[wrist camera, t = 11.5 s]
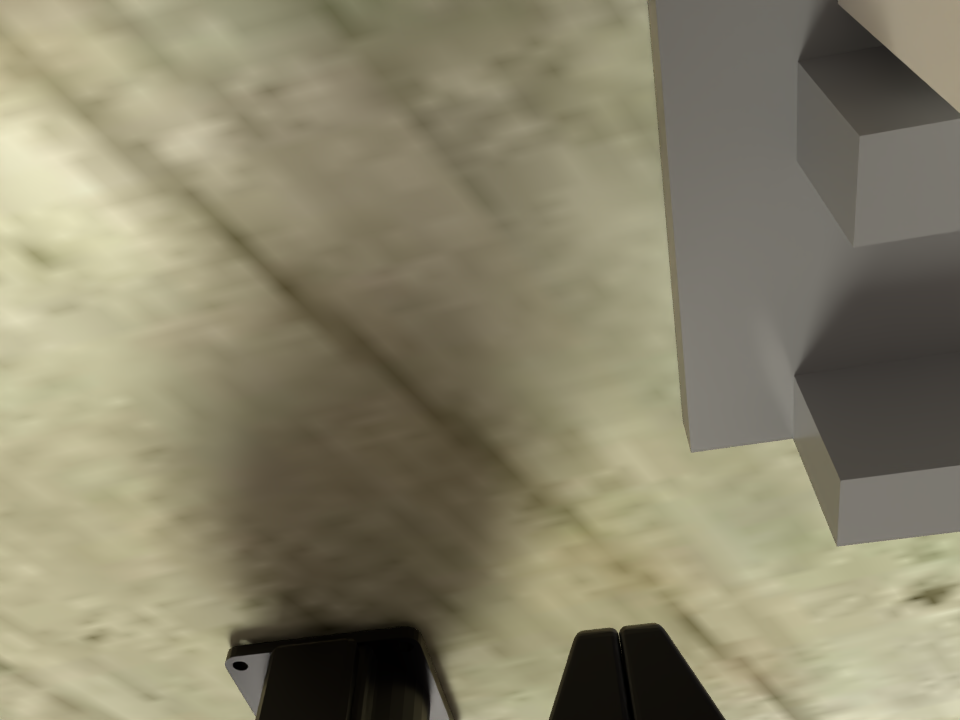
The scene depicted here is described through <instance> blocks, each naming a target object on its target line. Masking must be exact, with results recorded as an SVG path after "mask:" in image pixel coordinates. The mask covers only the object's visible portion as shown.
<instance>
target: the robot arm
mask: <svg viewBox="0 0 960 720" xmlns="http://www.w3.org/2000/svg"><path fill="white" fill-rule="evenodd" d="M619 638H620V640H619ZM620 645H621V647H620ZM225 666H226V669H227V670H228V672H229V674H230V675H231V677H232V679H233V680H234V682H235V683H236V685H237V687H238V688H239V690H240V692H241V693H242V695H243V697H244V698H245V700H246V701H247V703H248V705H249V706H250V708H251V710H252V711H253V713H254V715H255V716H256V719H255V720H454V718H453V716H452V713H451V711H450V708H449V705H448V703H447V700H446V697H445V695H444V692H443V690H442V687H441V684H440V682H439V679H438V676H437V674H436V671H435V669H434V666H433V663H432V661H431V658H430V655H429V653H428V650H427V648H426V645H425V642H424V640H423V637H422V635H421V633H420V632H419V631H418V630H416V629H415V628H411V627H396V628H387V629H379V630H370V631H362V632H353V633H345V634H336V635H328V636H319V637H311V638H302V639H294V640H285V641H277V642H268V643H260V644H251V645H243V646H236V647H233V648H231V649H230V650H229V651H228V654H227V658H226V661H225ZM549 720H726V719H725V718H724V717H723V715H722V714H721V712H720V711H719V709H718V708H717V706H716V705H715V703H714V702H713V700H712V699H711V697H710V696H709V694H708V693H707V691H706V690H705V688H704V687H703V686H702V684H701V683H700V681H699V680H698V678H697V677H696V675H695V674H694V672H693V671H692V669H691V668H690V666H689V665H688V663H687V662H686V660H685V659H684V657H683V656H682V655H681V653H680V652H679V650H678V649H677V647H676V646H675V644H674V643H673V641H672V640H671V638H670V637H669V635H668V634H667V632H666V631H665V630H664V628H663V627H661V626H660V625H659V624H657V623H647V624H638V625H629V626H624V627H622V628H621V629H620V632H619V635H618V632H617V631H616V630H615V629H613V628H602V629H593V630H584V631H580V632H579V633H577V635H576V636H575V638H574V641H573V644H572V647H571V650H570V653H569V656H568V660H567V663H566V666H565V669H564V672H563V676H562V679H561V682H560V685H559V689H558V692H557V695H556V698H555V701H554V705H553V708H552V711H551V714H550V717H549Z"/></svg>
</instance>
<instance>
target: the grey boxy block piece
mask: <svg viewBox="0 0 960 720" xmlns="http://www.w3.org/2000/svg"><path fill="white" fill-rule="evenodd" d="M838 4H839V5H840V6H841V7H842V8H843V9H844V10H845V11H846V12H848V13H849V14H850V15H851V16H852V17H853V18H854V19H855V20H856V21H858V22H859V23H860V24H861V25H862V26H863V27H864V28H865V29H866V30H868V31H869V32H870V33H871V34H872V35H873V36H874V37H875V38H877V39H878V40H879V41H880V42H881V43H882V44H883V45H884V46H885V47H887V48H888V49H889V50H890V51H891V52H892V53H893V54H894V55H895V56H897V57H898V58H899V59H900V60H901V61H902V62H903V63H904V64H906V65H907V66H908V67H909V68H910V69H911V70H912V71H913V72H914V73H916V74H917V75H918V76H919V77H920V78H921V79H922V80H923V81H924V82H926V83H927V84H928V85H929V86H930V87H931V88H932V89H933V90H935V91H936V92H937V93H938V94H939V95H940V96H941V97H942V98H943V99H945V100H946V101H947V102H948V103H949V104H950V105H951V106H952V107H954V108H955V109H956V110H957V111H958V112H959V113H960V0H838Z"/></svg>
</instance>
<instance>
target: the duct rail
mask: <svg viewBox="0 0 960 720" xmlns="http://www.w3.org/2000/svg"><path fill="white" fill-rule="evenodd" d="M648 11H649V23H650V35H651V47H652V59H653V71H654V83H655V95H656V107H657V119H658V130H659V142H660V154H661V166H662V178H663V190H664V202H665V214H666V226H667V238H668V250H669V262H670V274H671V286H672V297H673V309H674V321H675V333H676V345H677V357H678V369H679V381H680V393H681V405H682V417H683V424H684V427H685V431H686V435H687V439H688V443H689V446H690V450H691V452H698V451H706V450H713V449H720V448H728V447H735V446H742V445H749V444H757V443H764V442H771V441H779V440H786V439H794V442H795V444H796V447H797V449H798V452H799V454H800V457H801V459H802V462H803V464H804V467H805V469H806V472H807V474H808V476H809V479H810V481H811V484H812V486H813V489H814V491H815V494H816V496H817V499H818V501H819V504H820V506H821V509H822V511H823V513H824V516H825V518H826V521H827V523H828V526H829V528H830V531H831V533H832V536H833V538H834V541H835V543H836V545H837V546H845V545H853V544H861V543H869V542H877V541H886V540H894V539H902V538H910V537H919V536H927V535H935V534H943V533H952V532H960V113H959V112H958V111H957V110H956V109H955V108H954V107H952V106H951V105H950V104H949V103H948V102H947V101H946V100H945V99H943V98H942V97H941V96H940V95H939V94H938V93H937V92H936V91H935V90H933V89H932V88H931V87H930V86H929V85H928V84H927V83H926V82H924V81H923V80H922V79H921V78H920V77H919V76H918V75H917V74H916V73H914V72H913V71H912V70H911V69H910V68H909V67H908V66H907V65H906V64H904V63H903V62H902V61H901V60H900V59H899V58H898V57H897V56H895V55H894V54H893V53H892V52H891V51H890V50H889V49H888V48H887V47H885V46H884V45H883V44H882V43H881V42H880V41H879V40H878V39H877V38H875V37H874V36H873V35H872V34H871V33H870V32H869V31H868V30H866V29H865V28H864V27H863V26H862V25H861V24H860V23H859V22H858V21H856V20H855V19H854V18H853V17H852V16H851V15H850V14H849V13H848V12H846V11H845V10H844V9H843V8H842V7H841V6H840V5H839V4H838V0H648Z"/></svg>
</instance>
